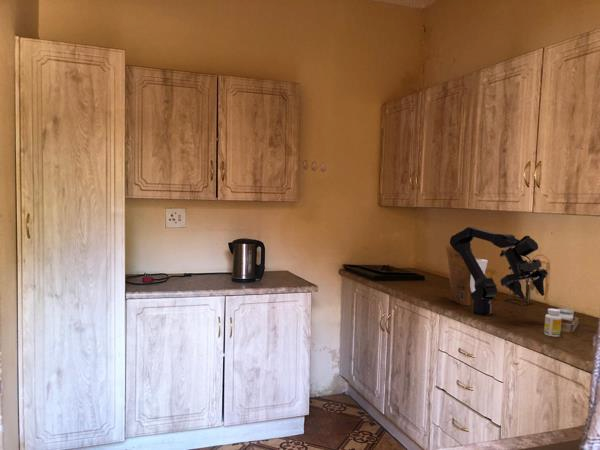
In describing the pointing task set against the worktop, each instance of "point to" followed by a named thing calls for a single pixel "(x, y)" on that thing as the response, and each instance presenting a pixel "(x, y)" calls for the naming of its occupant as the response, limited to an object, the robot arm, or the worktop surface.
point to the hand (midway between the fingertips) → (533, 297)
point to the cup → (482, 265)
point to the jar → (566, 313)
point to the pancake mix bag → (458, 277)
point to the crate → (569, 325)
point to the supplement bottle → (552, 323)
